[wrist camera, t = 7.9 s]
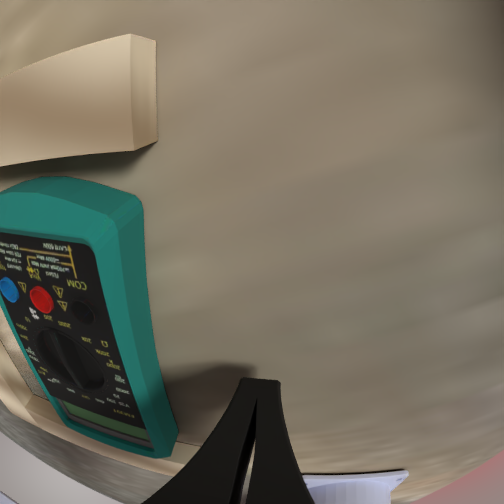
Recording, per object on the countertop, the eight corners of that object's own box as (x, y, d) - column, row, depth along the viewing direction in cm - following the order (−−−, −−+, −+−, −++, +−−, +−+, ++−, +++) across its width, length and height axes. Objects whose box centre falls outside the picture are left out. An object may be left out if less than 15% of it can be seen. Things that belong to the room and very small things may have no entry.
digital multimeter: (150, 172, 9) (99, 204, 7) (183, 429, 16) (169, 469, 14) (6, 173, 10) (-43, 198, 7) (80, 398, 17) (62, 430, 15)
